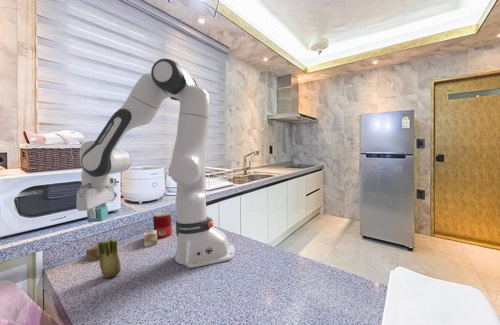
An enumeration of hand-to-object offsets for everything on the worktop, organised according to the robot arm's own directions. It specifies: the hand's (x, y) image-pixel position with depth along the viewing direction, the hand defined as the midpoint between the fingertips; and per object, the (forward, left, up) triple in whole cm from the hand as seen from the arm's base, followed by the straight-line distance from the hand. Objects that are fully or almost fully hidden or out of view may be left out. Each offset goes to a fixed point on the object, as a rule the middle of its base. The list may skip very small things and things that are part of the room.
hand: (98, 216), depth 89 cm
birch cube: (-17, -7, -16) cm, 24 cm away
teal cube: (0, 0, -2) cm, 2 cm away
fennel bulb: (-12, +18, -16) cm, 27 cm away
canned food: (-20, -16, -16) cm, 30 cm away
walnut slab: (0, 0, -16) cm, 16 cm away
